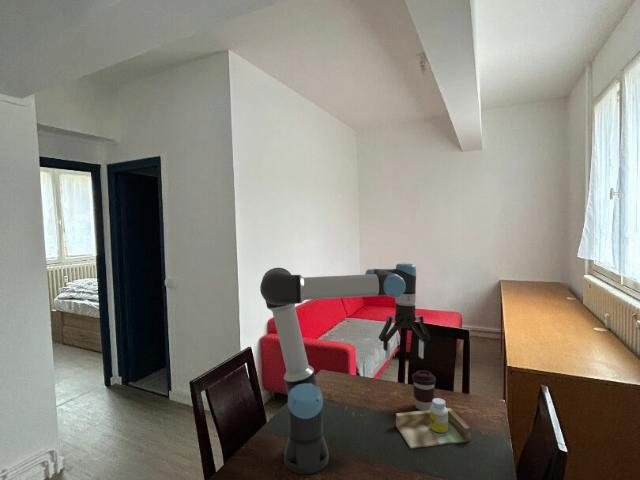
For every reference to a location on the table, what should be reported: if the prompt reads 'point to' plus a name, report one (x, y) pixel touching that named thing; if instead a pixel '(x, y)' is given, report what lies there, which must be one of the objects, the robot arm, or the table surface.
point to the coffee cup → (423, 389)
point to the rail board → (419, 431)
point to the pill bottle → (438, 417)
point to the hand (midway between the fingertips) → (404, 358)
